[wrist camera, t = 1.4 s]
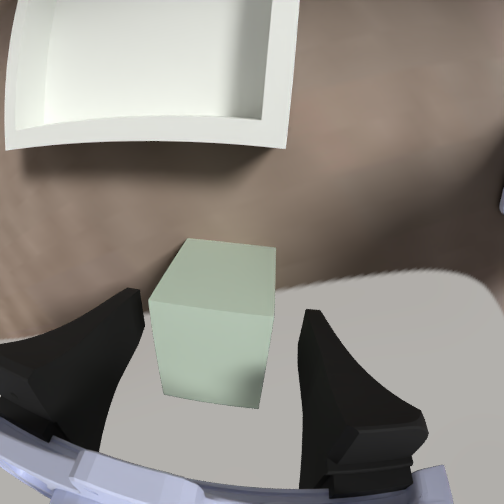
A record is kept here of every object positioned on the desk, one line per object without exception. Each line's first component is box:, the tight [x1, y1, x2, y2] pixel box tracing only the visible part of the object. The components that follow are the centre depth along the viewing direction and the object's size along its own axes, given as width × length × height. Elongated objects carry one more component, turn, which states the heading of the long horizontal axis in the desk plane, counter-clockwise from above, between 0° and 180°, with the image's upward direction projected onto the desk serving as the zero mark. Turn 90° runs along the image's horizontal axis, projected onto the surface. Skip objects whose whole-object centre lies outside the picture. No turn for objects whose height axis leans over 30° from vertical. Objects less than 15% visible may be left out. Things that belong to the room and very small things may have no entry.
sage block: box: [148, 238, 276, 409], centre depth 13 cm, size 4×5×5 cm
